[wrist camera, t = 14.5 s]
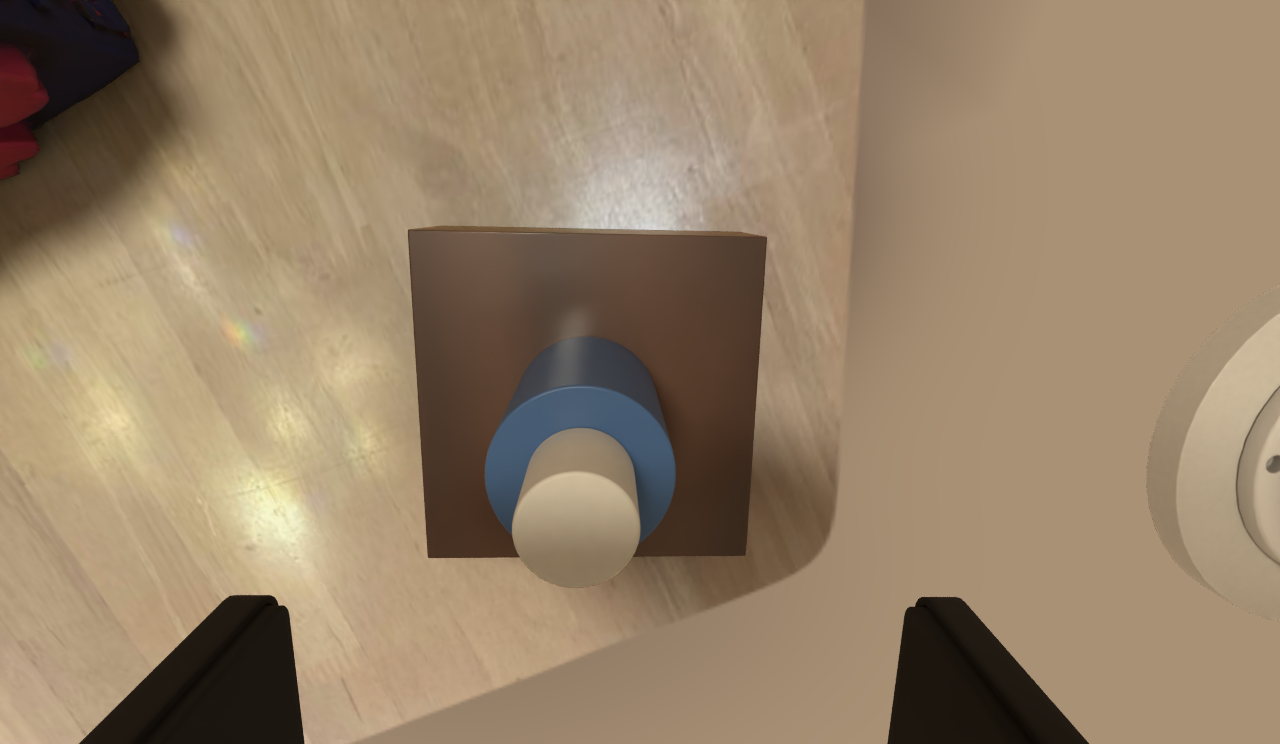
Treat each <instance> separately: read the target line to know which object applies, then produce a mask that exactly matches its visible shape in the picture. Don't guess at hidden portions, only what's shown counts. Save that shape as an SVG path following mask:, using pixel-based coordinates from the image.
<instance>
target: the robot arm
mask: <svg viewBox="0 0 1280 744" xmlns="http://www.w3.org/2000/svg"><path fill="white" fill-rule="evenodd" d="M1237 492H1238V503H1239V510H1240V513H1241V515H1242V518H1243V521H1244V524H1245V527H1246V529H1247V531H1248V532H1249V534H1250V535H1251V537H1252V539H1253V540H1254V542H1255V543H1256V545H1257V546H1259V547H1260V548H1261V549H1262V550H1263V551H1264V552H1265V553H1266V554H1267V555H1268V556H1269V557H1270V558H1272V559H1274V560H1275V561H1277V562H1279V563H1280V388H1279V389H1278V390H1277V391H1276V392H1275V393H1274V394H1273V396H1272V397H1271V399H1270V400H1269V401H1268V403H1267V404H1266V406H1265V407H1264V408H1263V410H1262V411H1261V413H1260V414H1259V415H1258V417H1257V419H1256V421H1255V423H1254V425H1253V427H1252V429H1251V431H1250V433H1249V435H1248V437H1247V439H1246V443H1245V446H1244V449H1243V453H1242V456H1241V459H1240V463H1239V472H1238V481H1237ZM79 744H304V735H303V727H302V718H301V710H300V702H299V693H298V685H297V676H296V668H295V659H294V651H293V642H292V634H291V626H290V617H289V612H288V609H287V608H286V607H285V606H278V602H277V600H276V599H275V597H273V596H271V595H233V596H229V597H228V598H226V599H225V600H224V601H223V602H222V603H221V604H220V605H219V606H218V607H217V608H216V609H215V610H214V611H213V612H212V613H211V614H210V615H209V616H208V617H207V618H206V619H205V620H204V621H203V622H202V623H201V624H200V625H199V626H197V627H196V628H195V629H194V630H193V631H192V632H191V633H190V634H189V635H188V636H187V637H186V638H185V639H184V640H183V641H182V642H181V643H180V644H179V645H178V646H177V647H176V648H175V649H174V650H173V651H172V652H171V653H170V654H169V655H168V656H167V657H166V658H165V659H164V660H163V661H162V662H161V663H160V664H159V665H158V666H157V667H156V668H155V669H154V670H153V671H152V672H151V673H150V674H149V675H148V676H147V677H146V678H145V679H144V680H143V681H142V682H141V683H140V684H139V685H138V686H137V687H136V688H135V689H134V690H133V691H132V692H131V693H130V694H129V695H128V696H127V697H126V698H125V699H124V700H123V701H122V702H121V703H120V704H119V705H118V706H117V707H116V708H115V709H114V710H113V711H112V712H111V713H110V714H109V715H108V716H107V717H106V718H105V719H104V720H103V721H101V722H100V723H99V724H98V725H97V726H96V727H95V728H94V729H93V730H92V731H91V732H90V733H89V734H88V735H87V736H86V737H85V738H84V739H83V740H82V741H81V742H80V743H79ZM888 744H1089V743H1088V742H1087V741H1086V740H1085V739H1084V737H1083V736H1082V735H1081V734H1080V733H1079V732H1078V731H1077V729H1075V727H1074V726H1073V725H1072V724H1071V723H1070V721H1069V720H1068V719H1067V718H1066V717H1065V716H1064V715H1063V714H1062V712H1061V711H1060V710H1059V709H1058V708H1057V707H1056V705H1055V704H1054V703H1053V702H1052V701H1051V700H1050V699H1049V698H1048V696H1047V695H1046V694H1045V693H1044V692H1043V691H1042V690H1041V688H1040V687H1039V686H1038V685H1037V684H1036V683H1035V681H1034V680H1033V679H1032V678H1031V677H1030V676H1029V675H1028V674H1027V672H1026V671H1025V670H1024V669H1023V668H1022V667H1021V666H1020V665H1019V663H1018V662H1017V661H1016V660H1015V659H1014V658H1013V656H1012V655H1011V654H1010V653H1009V652H1008V651H1007V650H1006V648H1005V647H1004V646H1003V645H1002V644H1001V643H1000V642H999V640H998V639H997V638H996V637H995V636H994V635H993V634H992V632H991V631H990V630H989V629H988V628H987V627H986V626H985V624H984V623H983V622H982V621H981V620H980V619H979V618H978V616H977V615H976V614H975V613H974V612H973V611H972V610H971V609H970V607H969V606H968V605H967V604H966V603H965V602H964V601H963V600H962V599H960V598H957V597H921V598H919V599H918V601H917V602H916V605H915V607H909V608H907V610H906V612H905V616H904V624H903V631H902V639H901V646H900V654H899V661H898V669H897V676H896V684H895V692H894V700H893V707H892V714H891V722H890V729H889V737H888Z"/></svg>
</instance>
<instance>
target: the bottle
mask: <svg viewBox="0 0 1280 744" xmlns="http://www.w3.org/2000/svg"><path fill="white" fill-rule="evenodd" d="M675 482H676V464H675V458H674V453H673V449H672V445H671V442H670V438H669V435H668V431H667V428H666V424H665V421H664V417H663V414H662V410H661V406H660V403H659V399H658V396H657V392H656V389H655V386H654V382H653V380H652V378H651V375H650V373H649V372H648V370H647V368H646V367H645V365H644V364H643V363H642V362H641V361H640V359H639V358H638V357H637V356H635V355H634V354H633V353H632V352H631V351H629V350H628V349H626V348H625V347H623V346H622V345H620V344H617V343H615V342H613V341H610V340H607V339H603V338H598V337H575V338H570V339H566V340H563V341H560V342H558V343H556V344H553V345H551V346H550V347H548V348H547V349H545V350H544V351H542V352H541V353H540V354H539V355H538V356H536V357H535V359H534V360H533V361H532V362H531V363H530V364H529V366H528V367H527V369H526V370H525V372H524V374H523V376H522V378H521V380H520V382H519V384H518V386H517V388H516V390H515V393H514V395H513V397H512V399H511V401H510V403H509V405H508V407H507V409H506V411H505V413H504V415H503V417H502V419H501V422H500V424H499V426H498V428H497V430H496V432H495V434H494V436H493V438H492V440H491V443H490V446H489V449H488V452H487V456H486V462H485V484H486V490H487V494H488V498H489V501H490V504H491V506H492V508H493V511H494V512H495V514H496V516H497V518H498V519H499V521H500V522H501V523H502V525H503V526H504V527H505V529H506V530H507V531H508V532H509V533H510V534H511V535H512V537H513V542H514V546H515V548H516V551H517V553H518V555H519V556H520V558H521V560H522V561H523V562H524V564H525V565H526V566H527V567H528V568H529V569H530V570H531V571H532V572H533V573H534V574H535V575H537V576H538V577H540V578H541V579H543V580H545V581H547V582H549V583H552V584H555V585H558V586H563V587H569V588H582V587H589V586H594V585H597V584H600V583H602V582H605V581H607V580H609V579H610V578H612V577H614V576H615V575H616V574H618V573H619V572H620V571H621V570H622V569H623V568H624V567H625V566H626V565H627V564H628V562H629V561H630V560H631V558H632V557H633V555H634V553H635V551H636V549H637V546H638V544H639V543H640V542H642V541H643V540H644V539H645V538H647V537H648V536H649V535H650V534H651V533H652V532H653V530H654V529H655V528H656V527H657V526H658V524H659V523H660V522H661V520H662V519H663V517H664V515H665V514H666V512H667V510H668V508H669V505H670V503H671V500H672V497H673V493H674V489H675Z"/></svg>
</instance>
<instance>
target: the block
mask: <svg viewBox="0 0 1280 744" xmlns="http://www.w3.org/2000/svg"><path fill="white" fill-rule="evenodd" d="M408 241H409V258H410V274H411V290H412V307H413V323H414V339H415V356H416V372H417V388H418V405H419V421H420V437H421V454H422V470H423V486H424V503H425V519H426V535H427V552H428V558H498V557H520V556H519V555H518V553H517V551H516V548H515V546H514V542H513V537H512V535H511V534H510V533H509V532H508V531H507V530H506V529H505V527H504V526H503V525H502V523H501V522H500V521H499V519H498V518H497V516H496V514H495V512H494V511H493V508H492V506H491V504H490V501H489V498H488V494H487V490H486V484H485V462H486V456H487V452H488V449H489V446H490V443H491V440H492V438H493V436H494V434H495V432H496V430H497V428H498V426H499V424H500V422H501V419H502V417H503V415H504V413H505V411H506V409H507V407H508V405H509V403H510V401H511V399H512V397H513V395H514V393H515V390H516V388H517V386H518V384H519V382H520V380H521V378H522V376H523V374H524V372H525V370H526V369H527V367H528V366H529V364H530V363H531V362H532V361H533V360H534V359H535V357H536V356H538V355H539V354H540V353H541V352H542V351H544V350H545V349H547V348H548V347H550V346H551V345H553V344H556V343H558V342H560V341H563V340H566V339H570V338H575V337H598V338H603V339H607V340H610V341H613V342H615V343H617V344H620V345H622V346H623V347H625V348H626V349H628V350H629V351H631V352H632V353H633V354H634V355H635V356H637V357H638V358H639V359H640V361H641V362H642V363H643V364H644V365H645V367H646V368H647V370H648V372H649V373H650V375H651V378H652V380H653V382H654V386H655V389H656V392H657V396H658V399H659V403H660V406H661V410H662V414H663V417H664V421H665V424H666V428H667V431H668V435H669V438H670V442H671V445H672V449H673V453H674V458H675V464H676V482H675V489H674V493H673V497H672V500H671V503H670V505H669V508H668V510H667V512H666V514H665V515H664V517H663V519H662V520H661V522H660V523H659V524H658V526H657V527H656V528H655V529H654V530H653V532H652V533H651V534H650V535H649V536H648V537H647V538H645V539H644V540H643V541H642V542H640V543H639V544H638V546H637V549H636V551H635V553H634V555H633V557H638V556H745V555H746V545H747V530H748V515H749V500H750V485H751V470H752V455H753V440H754V425H755V410H756V395H757V380H758V365H759V350H760V335H761V320H762V305H763V290H764V275H765V260H766V245H767V237H764V236H759V235H754V234H748V233H743V232H720V231H671V230H622V229H574V228H525V227H476V226H435V227H427V228H418V229H410V230H408Z"/></svg>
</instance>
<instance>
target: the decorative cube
mask: <svg viewBox="0 0 1280 744" xmlns="http://www.w3.org/2000/svg"><path fill="white" fill-rule="evenodd" d="M138 62H139V53H138V50H137V48H136V46H135V44H134V42H133V40H132V37H131V35H130V29H129V26H128V25H127V23H126V22H125V20H124V19H123V17H122V16H121V14H120V13H119V11H118V10H117V8H116V7H115V5H114V4H113V2H112V1H111V0H0V180H1V179H4V178H7V177H10V176H14V175H17V174H19V166H18V161H22V160H26V159H30V158H33V157H34V156H35V155H36V154H37V153H38V152H39V151H40V148H39V145H38V143H37V141H36V139H35V137H34V135H33V133H32V130H33V129H35V128H37V127H38V126H40V125H42V124H43V123H45V122H47V121H49V120H50V119H52V118H54V117H55V116H57V115H58V114H60V113H62V112H63V111H65V110H67V109H68V108H70V107H71V106H73V105H75V104H76V103H78V102H80V101H82V100H84V99H86V98H87V97H89V96H90V95H92V94H94V93H95V92H97V91H98V90H100V89H102V88H103V87H105V86H106V85H107V84H109V83H110V82H112V81H113V80H114V79H116V78H117V77H119V76H120V75H121V74H123V73H124V72H125V71H127V70H128V69H129V68H131V67H132V66H134V65H135V64H136V63H138Z"/></svg>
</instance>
